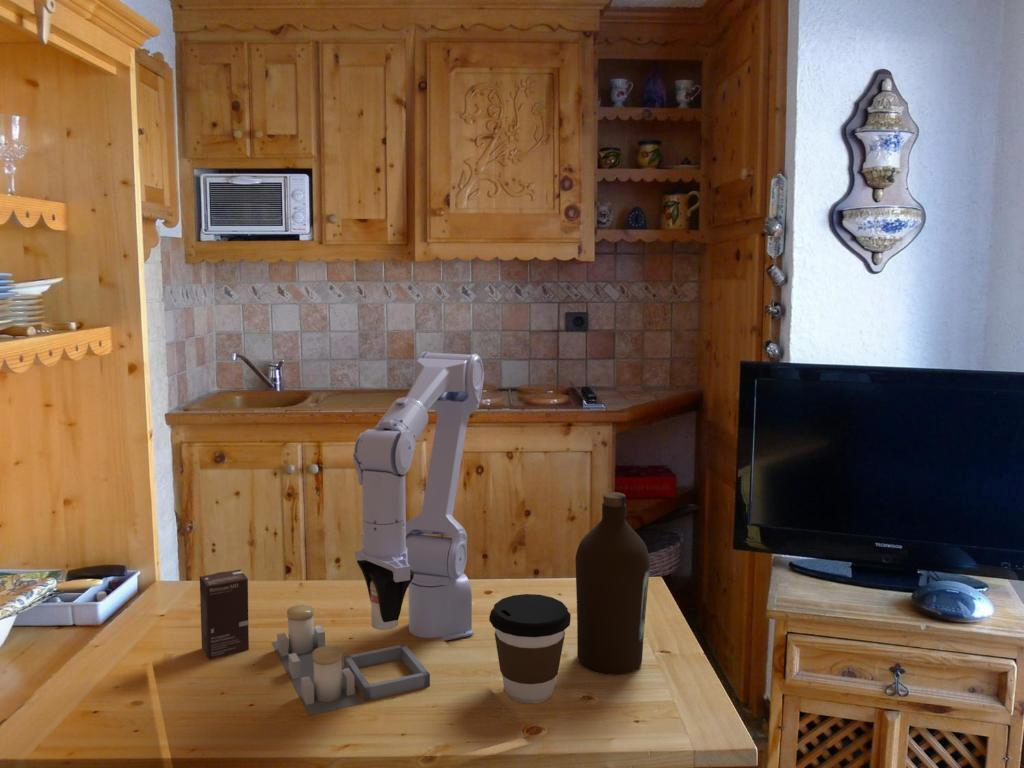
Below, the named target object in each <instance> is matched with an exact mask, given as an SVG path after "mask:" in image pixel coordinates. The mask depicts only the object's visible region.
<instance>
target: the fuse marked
mask: <svg viewBox="0 0 1024 768" xmlns="http://www.w3.org/2000/svg"><path fill="white" fill-rule="evenodd" d="M370 590H371V601H370V605H371V607H370V609H371V610H370V611H371V614H370V615H371V621H370V622H371V624H370V625H371V627H372V628H373V629H375V630H379V631H386V630H392V629H395V628H396V627H398V626H399V619H398V620H395V621H390V622H383V620H382V617H381V614H380V607H379V600H378V595H377V591H376V588H375V585H374V583H373V581H371V582H370Z"/></svg>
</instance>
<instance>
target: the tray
mask: <svg viewBox="0 0 1024 768" xmlns="http://www.w3.org/2000/svg"><path fill="white" fill-rule="evenodd" d="M398 660H401V661H402V662H403V663H404V664H405V665H406V666H407V668H408V669H409V670H410V671H411V673H412V674H410V675H405V676H401V677H396V678H392V679H388V680H387V679H386V680H383V681H379V682H372V683H369V682H368V680H367V679H366V677H365V676H364V674H363V673H362V671H361V670H360V669H359V668H363V667H369V666H373V665H377V664H378V665H379V664H382V663H388V662H392V661H398ZM346 668H349V669H350V671H351V672H352V674H353V675H354V686H355V687H356V688H357V690H358V691H359V694H360V695H361V697H362V698H363V699H364V700H365V702H366V701H370V700H375V699H378V698H384V697H389V696H392V695H393V696H394V695H397V694H401V693H406V692H410V691H415V690H418V689H424V688H428V687H431V673H430V672H429V671H428V670H427V669H426V667H425V666H424V665H423V664H422V663H421V662H420V661H419V660H418V658H417V657H416V656H415V655H414V653H413V652H412V651H411V649H409V647H408V646H407V645H406V644H405V643H402V644H398V645H394V646H389V647H384V648H378V649H374V650H369V651H364V652H360V653H353V654H348V655H344V656H343V669H346Z"/></svg>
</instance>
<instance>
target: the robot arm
mask: <svg viewBox="0 0 1024 768" xmlns="http://www.w3.org/2000/svg"><path fill="white" fill-rule="evenodd" d="M413 368H414V370H413V371H414V372H413V376H414V381H413V383H412V385H411V387H410V389H409V391H408V392H407V394H406V396H404V397H398V398H396V399H395V400H394V401H393V402H392V403H391V405H390V406H389V407H388V408H387V410H386V412H385V413H384V414H383V415H382V417H381V419H380V420H379V421H378V422H377V424H376V425H375V426H374V427H373V429H372V428H369V429H366V430H365V431H364V432H361V433H360V434H359V435H358V436H357V438H356V440H355V444H354V451H353V453H352V454H353V455H352V458H353V459H352V460H353V464H354V467H355V470H356V471H357V472H356V473H357V482H358V485H360V486H361V487H362V488H361V491H362V492H361V493H362V494H361V495H362V498H361V500H362V501H361V502H362V535H361V549H360V550H356V551H355V552H354V558H355V559H356V563H357V565H358V567H359V568H360V570H361V572H362V575H363V578H364V581H365V583H366V587H367V591H368V597H369V600H370V602H371V590H370V582H371V581H373V583H374V585H375V588H376V591H377V595H378V600H379V607H380V614H381V617H382V620H383V622H390V621H395V620H398V621H399V618H400V615H401V612H402V611H401V610H402V607H403V602H404V599H405V595H406V593H407V591H408V632H409V633H410V634H412V635H413V636H416V637H419V638H423V639H437V638H441V639H442V640H443V641H445V642H447V641H449V640H455V639H459V638H464V637H470V636H473V635H474V630H472V628H473V626H472V625H473V624H472V621H473V620H472V619H473V618H472V617H473V616H472V615H473V614H472V612H473V611H472V609H473V608H472V607H473V605H472V604H473V603H472V602H473V601H472V600H473V597H472V596H473V594H472V587H471V583H470V581H469V578H468V576H467V575H466V574H465V573H464V571H465V569H466V566H467V565H466V564H467V558H468V557H467V556H468V550H467V549H468V548H467V542H468V534H467V531H466V530H465V528H464V527H463V526H462V525H461V524H460V523H459V521H457V520H456V518H455V517H454V516H453V515H454V508H455V504H456V503H455V502H456V495H457V490H458V485H459V484H458V483H459V477H460V472H461V471H460V470H461V464H462V458H463V451H464V446H465V445H464V444H465V440H466V433H467V426H468V421H469V417H470V414H472V413H474V412H475V411H477V410H479V407H480V402H481V400H482V395H483V394H482V392H483V388H484V387H483V386H484V380H485V372H484V364H483V361H482V359H481V357H480V356H479V354H477V353H472V354H464V353H446V352H445V353H444V352H443V353H442V352H429V351H423V352H421V353H420V354H419V355H418V357H417V358H416V360H415V363H414V367H413ZM429 409H431V410H433V411H434V412H435V413H436V415H437V417H436V424H435V429H434V430H435V431H434V435H433V441H432V442H433V443H432V448H431V453H430V460H429V464H428V465H429V466H428V471H427V476H426V483H425V489H424V493H423V494H424V496H423V501H422V508H421V512H420V513H419V514H416V516H414V517H412V518H411V519H409V520H408V521H407V519H406V518H407V515H406V513H407V512H406V511H407V510H406V508H407V506H406V505H407V504H406V502H407V501H406V498H407V497H406V496H407V495H406V491H407V490H406V474H407V473H408V471H409V470H410V468H411V466H412V462H413V457H414V453H415V452H416V449H417V448H416V442H417V441H418V439H419V438H420V436H421V435H422V434H423V431H424V430H425V428H426V427H427V425H428V423H429V413H428V411H429ZM406 521H407V522H406ZM426 534H427V535H426ZM428 534H429V535H428ZM430 534H431V535H430ZM437 535H439V536H437ZM444 536H445V537H444ZM446 536H448V537H446Z"/></svg>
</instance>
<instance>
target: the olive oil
mask: <svg viewBox="0 0 1024 768" xmlns="http://www.w3.org/2000/svg"><path fill="white" fill-rule="evenodd" d="M602 498H603V502H602V503H601V505H602V506H601V520H600V521H599V522H598V523H597V524H596V525H595V526H594V527H593V528H591V530H589V531H588V532H587V534H585V536H584V537H583V538H582V539H581V540H580V542H579V545H578V547H577V550H576V554H575V583H576V585H575V586H576V587H575V588H576V591H575V592H576V623H577V625H576V626H577V627H576V629H577V630H576V631H577V632H576V633H577V634H576V635H577V636H576V637H577V640H576V641H577V643H576V644H577V649H576V650H577V651H576V652H577V653H576V654H577V661H578V663H579V665H581V667H583V668H585V669H586V670H588V671H590V672H593V673H597V674H601V675H607V676H620V675H626V674H630V673H633V672H635V671H636V670H638V669H640V667H641V665H642V662H643V651H644V636H645V625H646V622H645V621H646V611H647V603H648V602H647V600H648V592H649V591H648V590H649V578H650V570H651V569H650V568H651V565H650V564H651V563H650V562H651V561H650V554H649V551H648V547H647V545H646V543H645V541H644V540H643V539H642V538H641V536H640V535H638V533H637V531H635V530H634V529H633V527H632V526H630V524H629V523H628V522H627V520H626V517H627V516H626V513H627V504H626V498H627V496H626V494H624V493H621V492H616V491H613V492H612V491H610V492H609V491H608V492H605V493H604V494H603V495H602Z"/></svg>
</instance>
